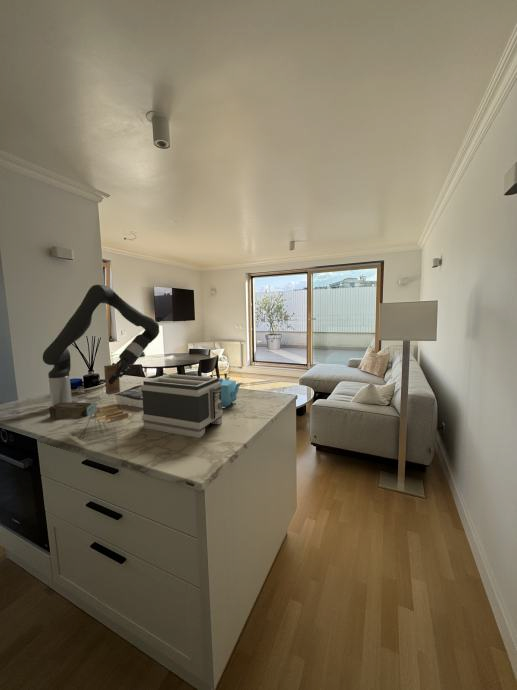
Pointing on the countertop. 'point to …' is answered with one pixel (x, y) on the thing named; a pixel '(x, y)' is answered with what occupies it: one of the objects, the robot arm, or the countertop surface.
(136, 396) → the food packaging
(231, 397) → the teakettle
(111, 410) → the oak rack
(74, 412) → the beverage carton
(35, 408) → the countertop surface
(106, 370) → the brown wooden block
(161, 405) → the toaster
